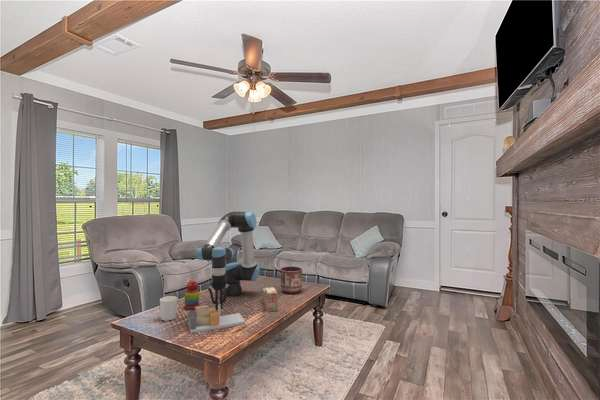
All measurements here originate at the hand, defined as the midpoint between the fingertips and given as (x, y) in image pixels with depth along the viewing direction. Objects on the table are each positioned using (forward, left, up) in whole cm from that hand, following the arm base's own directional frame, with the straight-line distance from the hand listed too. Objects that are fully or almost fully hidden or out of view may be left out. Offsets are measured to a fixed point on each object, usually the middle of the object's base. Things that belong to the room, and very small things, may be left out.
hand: (218, 315), depth 175 cm
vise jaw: (0, -3, -3) cm, 5 cm away
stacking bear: (-34, -11, -5) cm, 36 cm away
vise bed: (0, -1, -5) cm, 5 cm away
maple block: (0, -9, -3) cm, 10 cm away
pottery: (-39, +63, -5) cm, 74 cm away
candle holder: (-20, -26, -5) cm, 33 cm away
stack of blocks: (-16, +37, -5) cm, 40 cm away
